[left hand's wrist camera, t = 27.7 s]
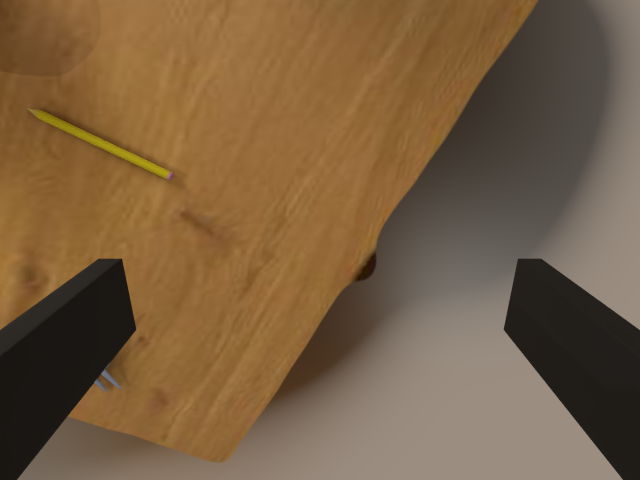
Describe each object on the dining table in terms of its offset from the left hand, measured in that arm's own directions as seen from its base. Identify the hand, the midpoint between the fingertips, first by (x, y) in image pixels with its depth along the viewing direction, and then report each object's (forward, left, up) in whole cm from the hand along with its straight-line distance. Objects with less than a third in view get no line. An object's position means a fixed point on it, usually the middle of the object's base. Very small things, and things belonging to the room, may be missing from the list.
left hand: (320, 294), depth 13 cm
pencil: (-14, +20, -33) cm, 41 cm away
